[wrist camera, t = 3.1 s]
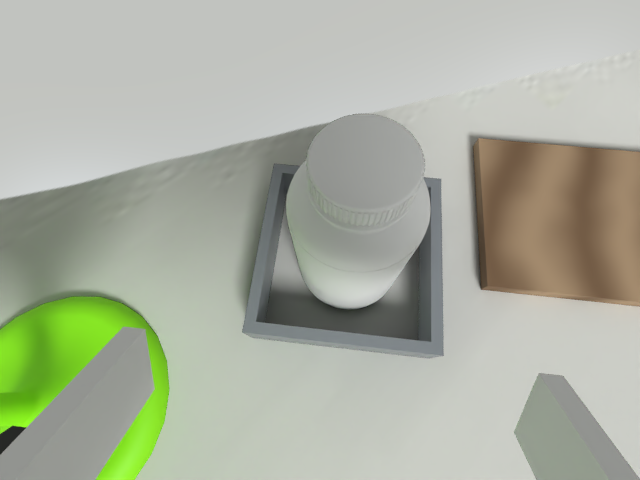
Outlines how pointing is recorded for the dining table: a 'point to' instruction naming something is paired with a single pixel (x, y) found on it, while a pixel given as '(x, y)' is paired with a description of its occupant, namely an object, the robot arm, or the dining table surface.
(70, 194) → the dining table surface
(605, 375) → the dining table surface
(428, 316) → the bin
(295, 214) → the pill bottle
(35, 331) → the wineglass
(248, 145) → the dining table surface
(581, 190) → the board
